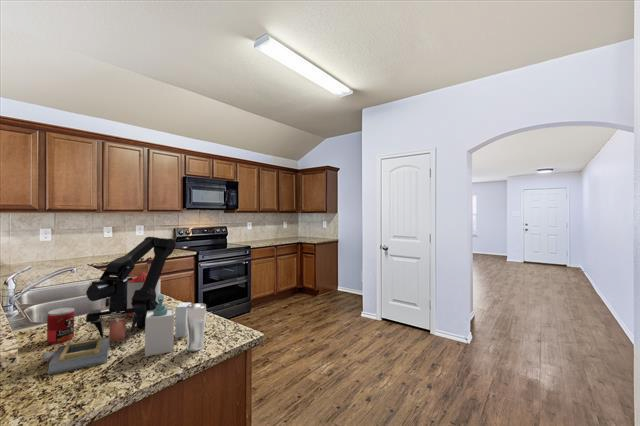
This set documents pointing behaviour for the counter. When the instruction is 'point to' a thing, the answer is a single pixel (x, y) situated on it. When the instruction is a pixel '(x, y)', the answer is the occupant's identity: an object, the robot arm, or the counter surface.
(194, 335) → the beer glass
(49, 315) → the canned food
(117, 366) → the counter surface
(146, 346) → the soap bottle
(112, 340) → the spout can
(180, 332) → the skincare box
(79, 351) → the grey and gold frame
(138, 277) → the citrus juicer
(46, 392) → the counter surface
